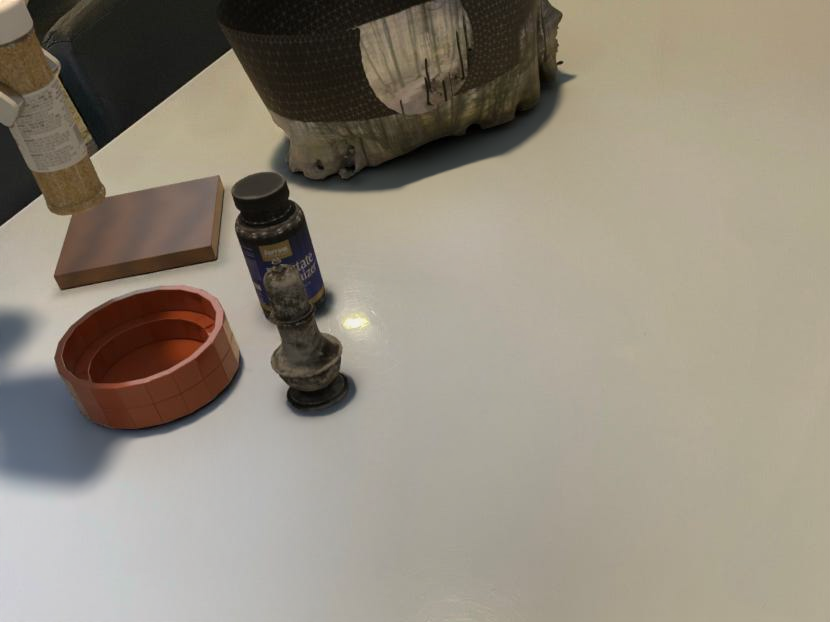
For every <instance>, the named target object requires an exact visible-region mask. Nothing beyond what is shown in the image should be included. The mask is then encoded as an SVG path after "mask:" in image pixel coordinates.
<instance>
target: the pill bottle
mask: <svg viewBox="0 0 830 622" xmlns="http://www.w3.org/2000/svg"><path fill="white" fill-rule="evenodd" d="M230 191H231V192H230V193H231V197H232V200H233V203H234V206H235V208H236V209H237V210H238V211H239V214H238V215H237V216H236V219H235V223H234V231H235V235H236V237H237V241H238V243H239V246H240V250H241V252H242V255H243V259H244V260H245V265H246V267H247V270H248V272H249V275H250V278H251V281H252V285H253V287H254V290H255V293H256V296H257V298H258V301H259V305H260V308H261V309H262V311H263V312H264V314H266V315H267V316H268V317H270V313H271V312H272V308H271V305H270V302H269V299H268V296H267V293H266V290H265V287H264V284H263V279H264V276H265V274H266V272H267V271H268V270H269V269H271V268H272V267H273V266H274V265H273V264H272V261H273V259H274V257H276V258H278V259H280V260H281V262H280V264H287V265H292V266H294V267H295V268H297V269H298V271H299V272H300V274H301V277H302V281H303V284H304V287H305V290H306V294H307V297H308V300H310V301H312V302H313V303H314V304H315V306H316V310H318V309H319V308H320V306H321V305H322V304H323V302H324V300H325V298H326V296H327V295H326V294H327V290H326V287H325V283H324V279H323V275H322V272H321V269H320V265H319V261H318V259H317V255H316V250H315V248H314V245H313V241H312V237H311V234H310V230H309V226H308V223H307V220H306V216H305V213H304V212H305V211H304V210H303V208H302V207H301V206H300V205H299V204H298V203H297V202H296V201H294V200H291V199H289V198H290V193H291V191H290V188H289V186H288V182H287V180H286V177H285V176H284V175H283V174H281V173H279V172H276V171H261V172H256V173H252V174H249V175H247V176H244V177H243V178H240V179H239V180H237V181H236V182H234V184H233V185H232V187H231V190H230Z"/></svg>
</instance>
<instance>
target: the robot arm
mask: <svg viewBox="0 0 830 622" xmlns="http://www.w3.org/2000/svg"><path fill="white" fill-rule="evenodd" d="M23 1H24V3H25V5H26V7H27V6H28V4H29V2H30V0H23ZM27 8H28V7H27ZM41 48H42V50H43V52H44V55H45V57H46V59H47V61H48V63H49V66H50V68H51V70H52V72H53V73H54V75H55V77H56V79H57V80H58V77H59V74H60V72H61V69H62V65H61V62H60V60H58V58H56V56H54V55H52V54H51V53H50V52H48V51H47V50H46V49H44V48H43V47H42V46H41ZM24 106H25V100H24V98H23V97H22V95H20V94H19V93H18V92H14V91H13V90H12V89H11V87H9V86H8V85H6V84H5V83H3V82H2V81H0V123H1V124H2V125H3V126H4V127H8V128H9V126H12V125H13V124H14V123H15V122H16V121H17V120H18V119H19V117H20V116H21V114H22V112H23V109H24Z"/></svg>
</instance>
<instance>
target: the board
mask: <svg viewBox="0 0 830 622" xmlns="http://www.w3.org/2000/svg"><path fill="white" fill-rule="evenodd" d="M224 190H225V188H224V184H223V181H222V178H221V175H220V174H217V175H212V176H207V177H202V178H196V179H192V180H186V181H180V182H176V183H170V184H166V185H161V186H154V187H150V188H145V189H140V190H135V191H130V192H125V193H119V194H113V195H109V196H105V198H104V199H103V201H101V203H100V204H98V205H97V206H95V207H94V208H92V209H90V210H88V211H85V212H83V213H78V214H74V215H71V217H70V221H69V224H68V227H67V231H66V233H65V234H66V235H65V237H64V240H63V244H62V247H61V250H60V253H59V257H58V259H57V263H56V265H55V270H54V272H53V273H54V274H53V278H54V280H55V282H56V284H57V286H58V287H59V290H65V289H71V288H74V287H80V286H87V285H91V284H97V283H101V282H106V281H112V280H117V279H123V278H127V277H133V276H137V275H142V274H147V273H153V272H157V271H163V270H168V269H173V268H180V267H185V266H190V265H194V264H199V263H204V262H209V261H215V260H217V257H218V256H217V255H218V247H219V246H218V245H219V238H220V237H219V236H220V227H221V219H222V218H221V217H222V208H223V200H224Z"/></svg>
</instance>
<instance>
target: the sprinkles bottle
mask: <svg viewBox="0 0 830 622" xmlns="http://www.w3.org/2000/svg"><path fill="white" fill-rule="evenodd" d="M41 47H42V46H41V43H40V41H39V39H38V37H37V35H36V29H35V27H34V20H33V19H32V16H31V13H30V12H29V9H28V7H26V5H25V3H24V1H23V0H0V81H2V82H3V83H5V84H6V85H8V86H9V87H11V89H12V90H13V91H14V92H18V93H19V94H20V95H22V97H23V98H24V100H25V106H24V109H23V112H22V114H21V116H20V117H19V119H18V120H17V121H16V122H15V123H14V124H13V125H12V126H9V127H8V129H9V131H10V134H11V136H12V137H13V139H14V141H15V143H16V145H17V147H18V149H19V152H20V153H21V155H22V158H23V159H24V162H25V164H26V166H27V167H28V169H29V170H30V171H31V173H32V176H33V177H34V181H35V182H36V184H37V186H38V188H39V190H40V192H41V195H42V196H43V198H44V200H45V205H46V207H47V209H48V210H49V212H50V213H52V214H54V215H57V216H72V215H74V214H78V213H83V212H85V211H88V210H90V209H92V208H94V207H95V206H97V205H98V204H100V203H101V201H103V199H104V198H105V197H107V191H106V190H107V189H106V186H105V184H103V182H102V181H101V179H100V178H99V177H100V176H99V175H98V173H97V171H96V169H95V166H94V164H93V161H92V160H91V157H90V155H89V153H88V147H87V145H86V143H85V141H84V138H83V136H82V133H81V131H80V129H79V126H78V125H77V122H76V120H75V118H74V115H73V113H72V110H71V109H70V106H69V104H68V102H67V100H66V98H65V95H64V93H63V91H62V88H61V86H60V84H59V81H58V78H57V79H56V77H55V75H54V73H53V72H52V70H51V68H50V66H49V63H48V61H47V59H46V57H45V55H44V52H43V50H42V48H43V47H42V48H41Z"/></svg>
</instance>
